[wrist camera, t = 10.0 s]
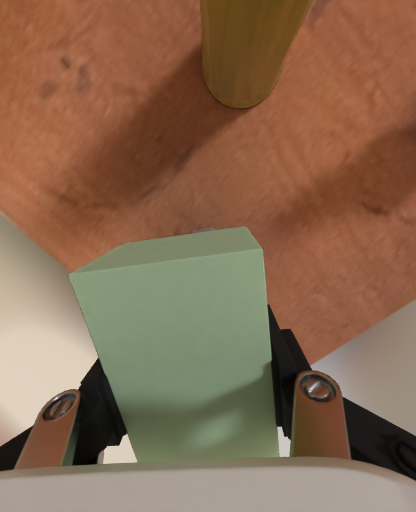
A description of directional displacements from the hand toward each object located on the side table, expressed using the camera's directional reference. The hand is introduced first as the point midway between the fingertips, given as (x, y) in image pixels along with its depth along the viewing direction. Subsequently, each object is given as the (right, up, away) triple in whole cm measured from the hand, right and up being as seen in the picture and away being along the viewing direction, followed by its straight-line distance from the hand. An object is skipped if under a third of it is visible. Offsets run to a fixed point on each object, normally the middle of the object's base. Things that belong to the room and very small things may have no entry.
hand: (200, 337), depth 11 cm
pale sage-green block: (0, 0, +1) cm, 1 cm away
